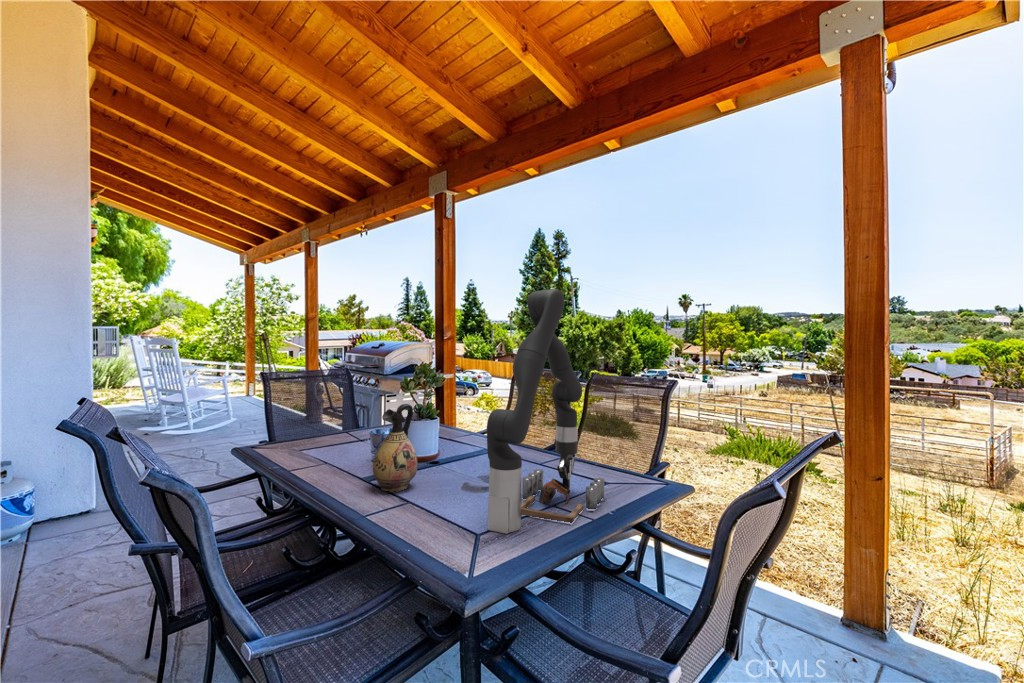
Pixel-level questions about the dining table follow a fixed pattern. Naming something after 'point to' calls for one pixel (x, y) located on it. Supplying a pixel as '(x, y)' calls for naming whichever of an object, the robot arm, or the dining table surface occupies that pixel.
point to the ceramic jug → (396, 453)
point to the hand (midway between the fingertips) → (566, 489)
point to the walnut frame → (548, 515)
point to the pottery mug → (553, 491)
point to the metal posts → (536, 483)
